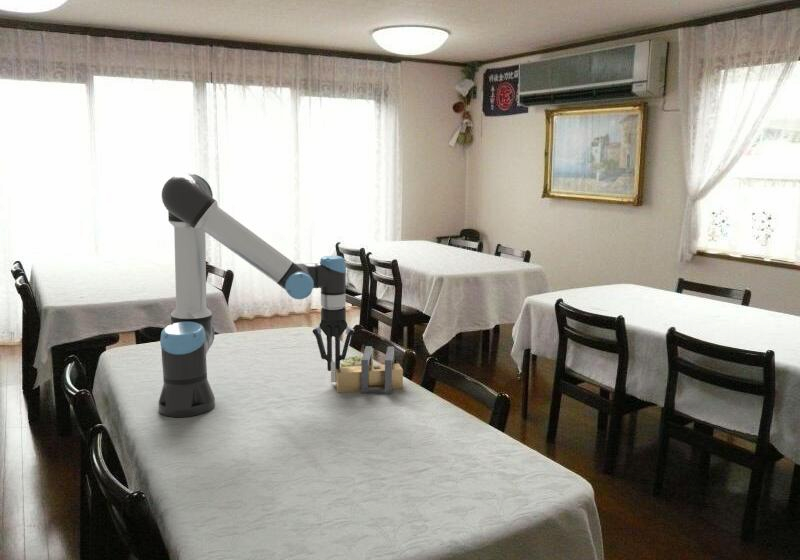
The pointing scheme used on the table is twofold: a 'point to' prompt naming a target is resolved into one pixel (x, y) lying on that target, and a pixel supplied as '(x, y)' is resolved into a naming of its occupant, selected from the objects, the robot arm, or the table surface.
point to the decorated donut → (352, 361)
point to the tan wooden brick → (352, 377)
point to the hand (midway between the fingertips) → (333, 380)
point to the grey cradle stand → (389, 361)
